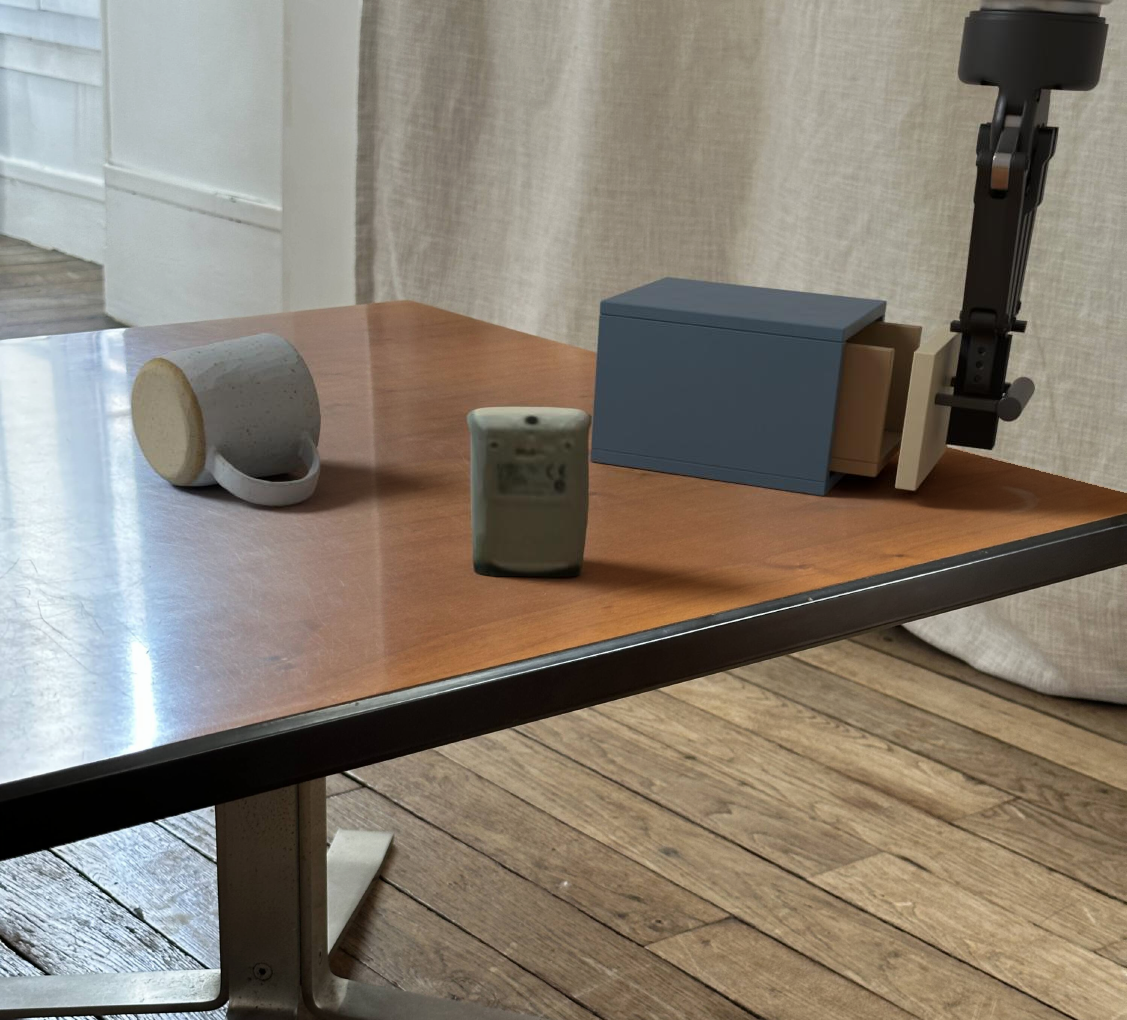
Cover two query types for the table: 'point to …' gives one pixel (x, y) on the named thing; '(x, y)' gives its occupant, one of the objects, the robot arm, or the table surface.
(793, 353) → the cabinet
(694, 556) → the table surface
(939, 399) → the drawer
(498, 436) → the grey electronic device
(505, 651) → the table surface
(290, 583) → the table surface
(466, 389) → the table surface
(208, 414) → the ceramic mug
